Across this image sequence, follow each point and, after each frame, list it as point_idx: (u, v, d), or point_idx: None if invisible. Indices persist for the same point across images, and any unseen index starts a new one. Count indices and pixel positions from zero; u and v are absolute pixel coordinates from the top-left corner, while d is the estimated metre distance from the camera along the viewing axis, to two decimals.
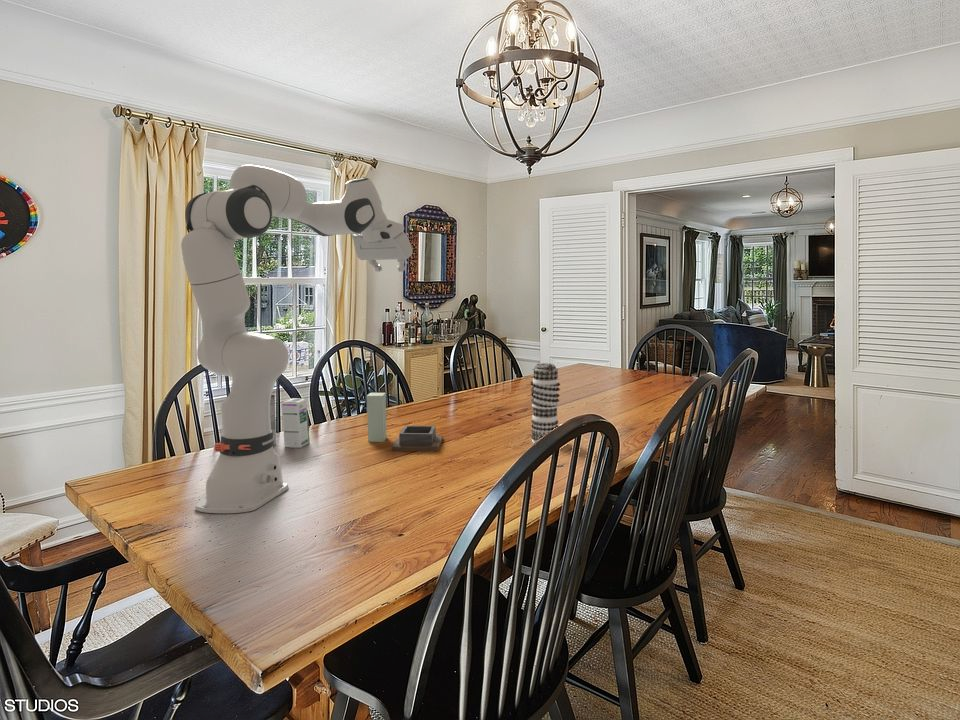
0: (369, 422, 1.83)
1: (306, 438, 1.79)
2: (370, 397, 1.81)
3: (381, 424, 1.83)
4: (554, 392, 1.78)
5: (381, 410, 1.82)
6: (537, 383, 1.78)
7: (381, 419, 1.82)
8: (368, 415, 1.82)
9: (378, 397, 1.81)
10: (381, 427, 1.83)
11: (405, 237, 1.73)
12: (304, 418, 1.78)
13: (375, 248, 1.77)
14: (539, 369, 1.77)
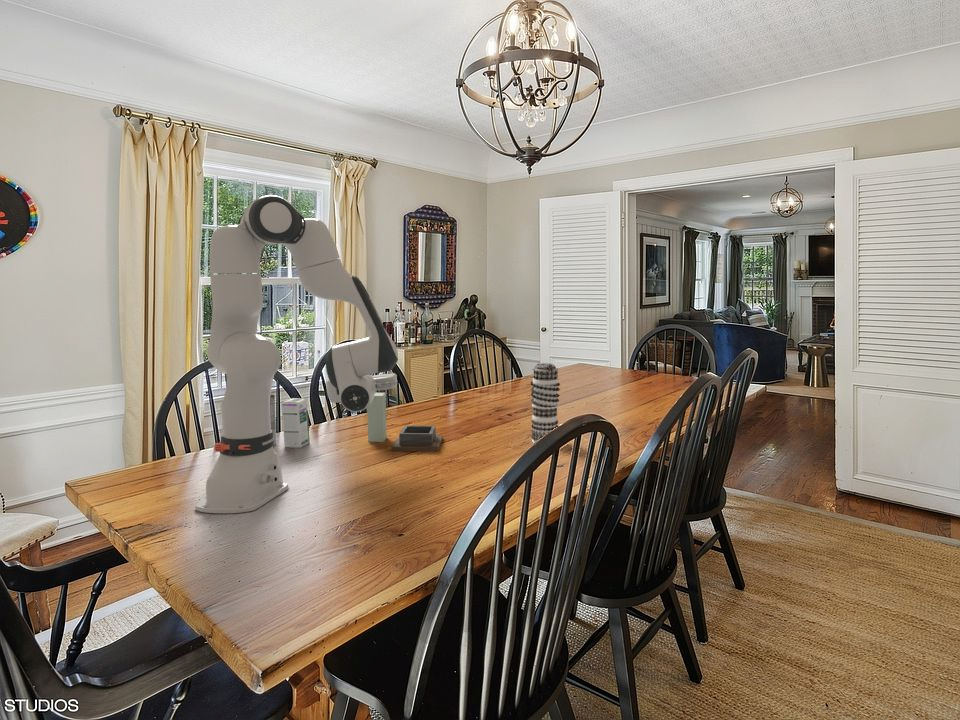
0: (369, 422, 1.83)
1: (306, 438, 1.79)
2: None
3: (381, 424, 1.83)
4: (554, 392, 1.78)
5: (381, 410, 1.82)
6: (537, 383, 1.78)
7: (381, 419, 1.82)
8: (368, 415, 1.82)
9: (378, 397, 1.81)
10: (381, 427, 1.83)
11: None
12: (304, 418, 1.78)
13: None
14: (539, 369, 1.77)
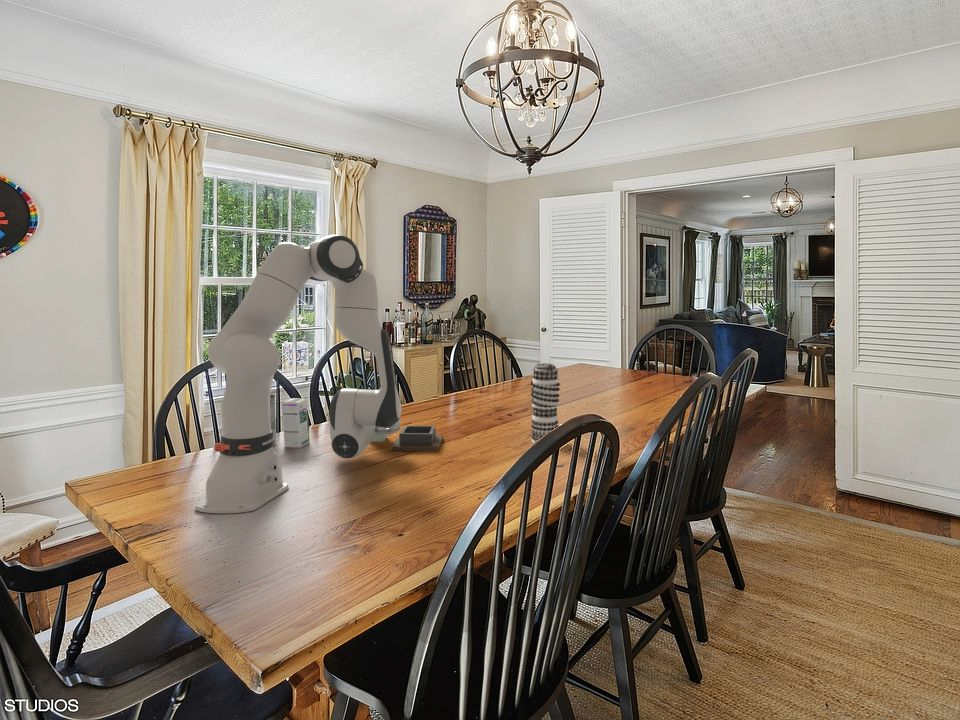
0: None
1: (306, 438, 1.79)
2: None
3: None
4: (554, 392, 1.78)
5: None
6: (537, 383, 1.77)
7: None
8: None
9: None
10: None
11: None
12: (304, 418, 1.78)
13: None
14: (539, 369, 1.77)
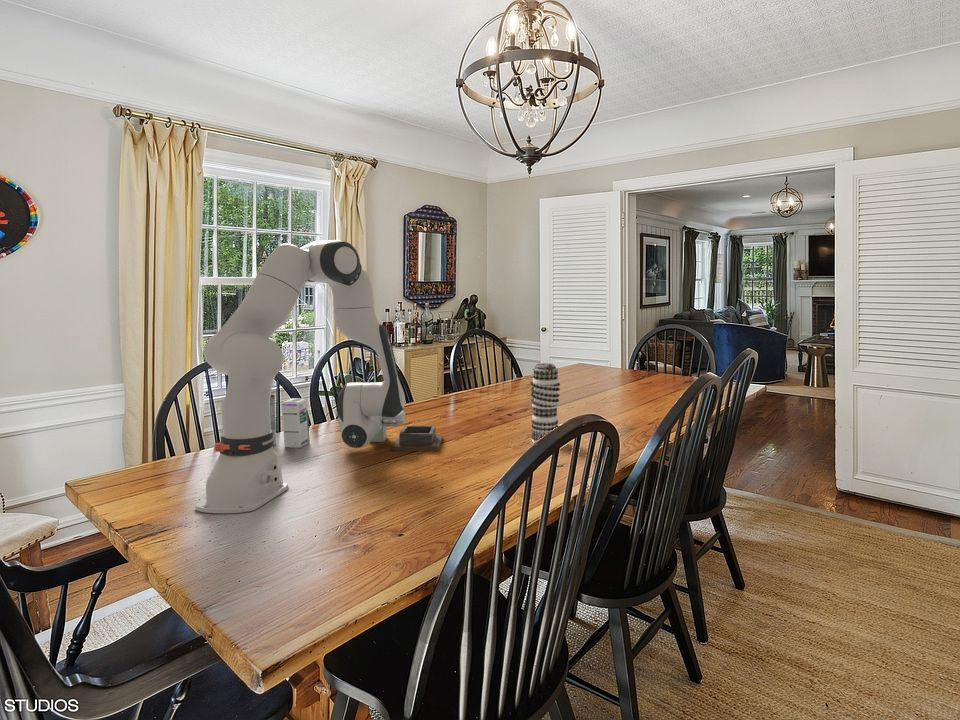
0: None
1: (306, 438, 1.79)
2: None
3: None
4: (554, 392, 1.78)
5: None
6: (537, 383, 1.78)
7: None
8: None
9: None
10: None
11: None
12: (304, 418, 1.78)
13: None
14: (539, 369, 1.77)
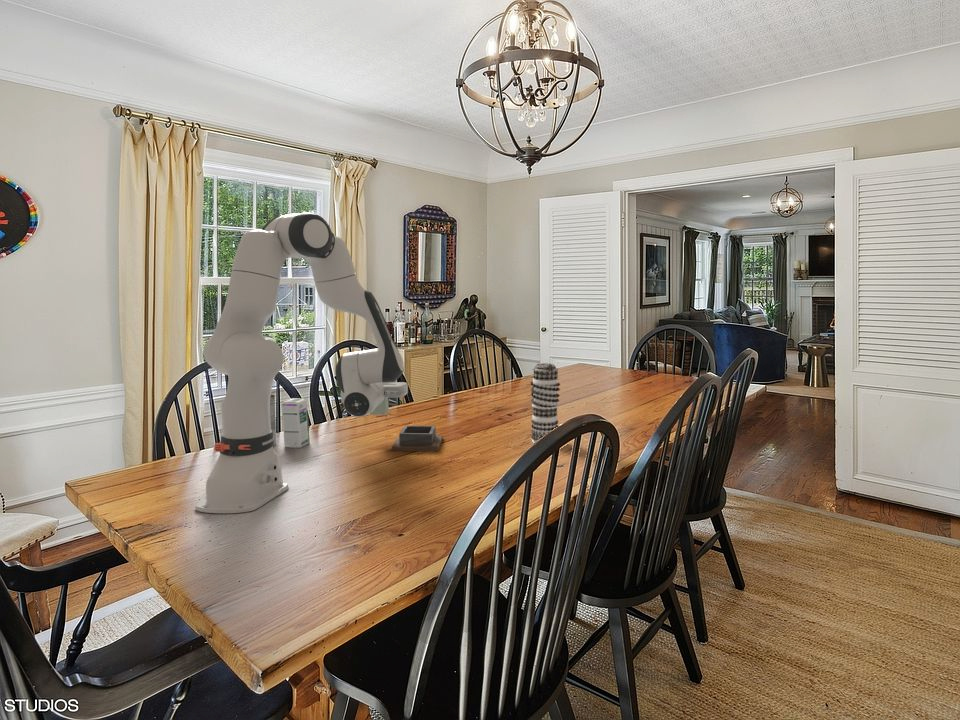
0: None
1: (306, 438, 1.79)
2: None
3: None
4: (554, 392, 1.78)
5: None
6: (537, 383, 1.78)
7: None
8: None
9: None
10: (383, 400, 1.81)
11: None
12: (304, 418, 1.78)
13: None
14: (539, 369, 1.77)
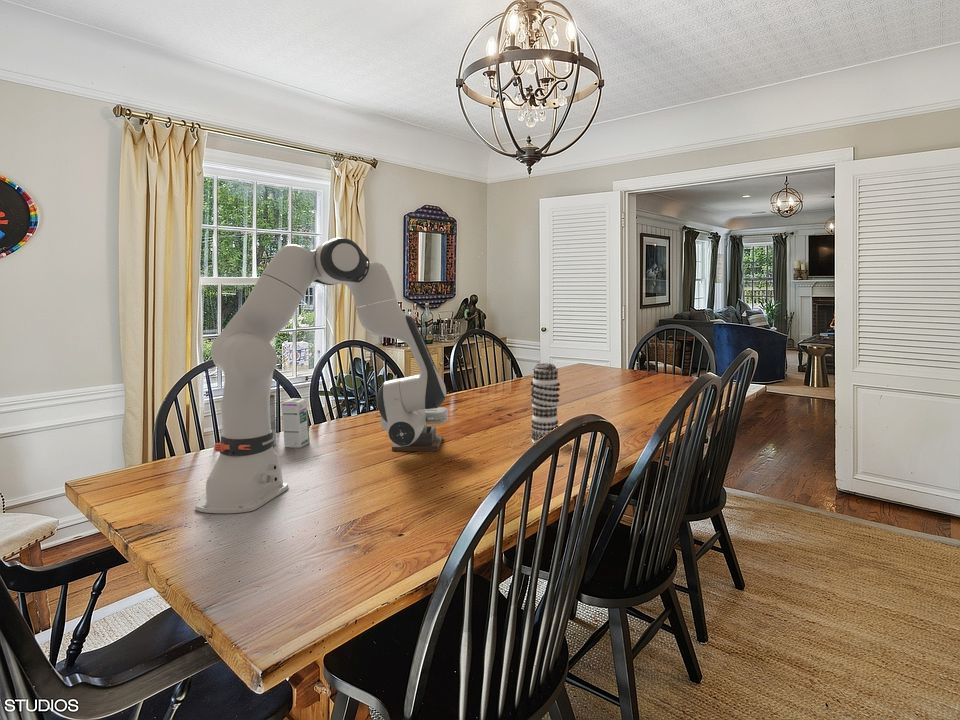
0: None
1: (306, 438, 1.79)
2: None
3: None
4: (554, 392, 1.78)
5: None
6: (537, 383, 1.78)
7: None
8: None
9: None
10: None
11: None
12: (304, 418, 1.78)
13: None
14: (539, 369, 1.77)
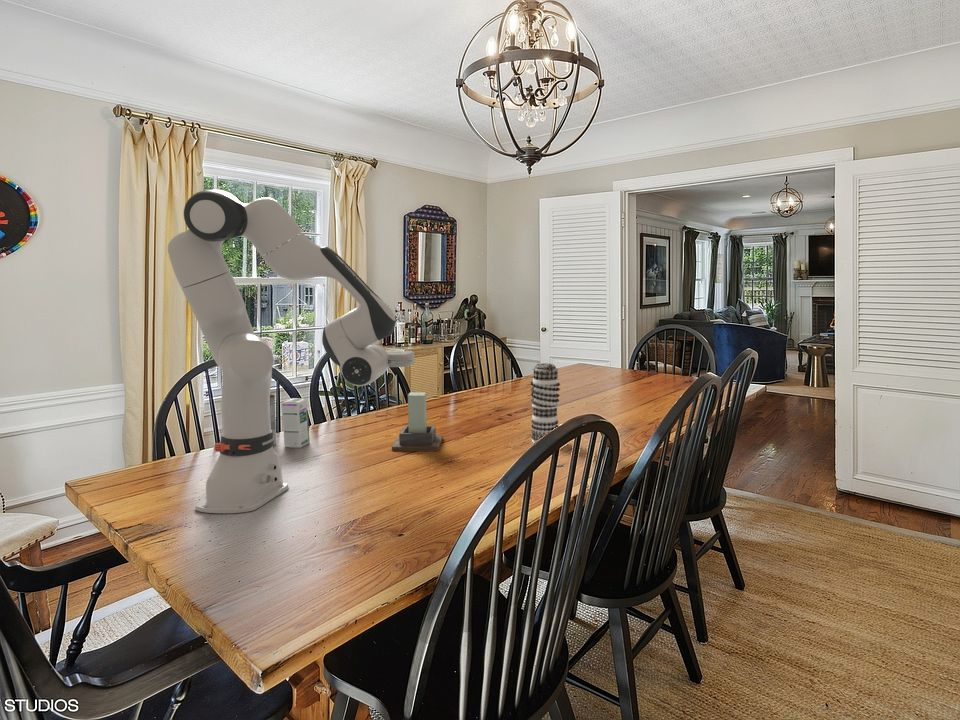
0: (410, 423, 1.77)
1: (306, 438, 1.79)
2: (411, 397, 1.76)
3: (422, 425, 1.77)
4: (554, 392, 1.78)
5: (422, 410, 1.76)
6: (537, 383, 1.77)
7: (422, 419, 1.77)
8: (409, 415, 1.77)
9: (420, 397, 1.76)
10: (422, 428, 1.77)
11: None
12: (304, 418, 1.78)
13: None
14: (539, 369, 1.77)
